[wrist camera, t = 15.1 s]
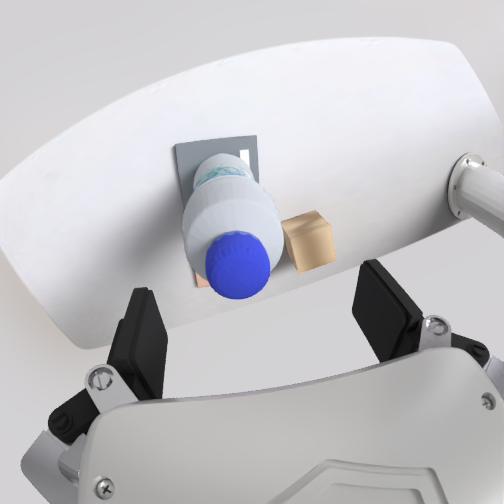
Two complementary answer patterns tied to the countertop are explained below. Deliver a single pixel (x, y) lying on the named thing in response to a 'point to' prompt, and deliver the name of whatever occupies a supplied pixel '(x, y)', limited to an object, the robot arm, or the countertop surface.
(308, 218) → the oak block
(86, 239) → the countertop surface
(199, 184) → the bottle
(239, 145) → the slate mat
